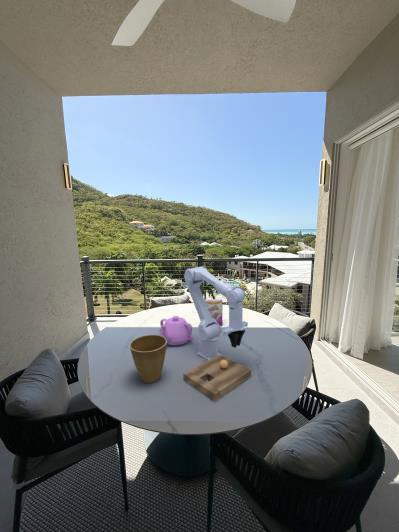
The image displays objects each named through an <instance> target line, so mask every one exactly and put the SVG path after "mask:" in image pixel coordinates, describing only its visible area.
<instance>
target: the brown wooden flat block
mask: <svg viewBox="0 0 399 532" xmlns="http://www.w3.org/2000/svg"><path fill="white" fill-rule="evenodd" d="M220 354H221V353H220ZM220 354H219V355H217V356H215V357H214V358H212V359H210V360H206V361H205V362H202V363H201V364H199V365H197V366H195V367H193V368H191V369H188V370H187V371H185V372H184V373H183V374H182V375H183V376H182V378H183V379H182V380H183V381H184V382H185V383H187V384H189V385H190V386H191V387H193V388H194V389H196V390H197V391H199V392H200V393H202V394H203V395H205V396H206V397H207V398H209V399H210V400H212V401H213V402H217V401H218V400H219V399H221V398H222V397H224V396H226V395H227V394H228V393H230V392H232V390H234V389H236V388H237V387H239V386H240V385H241V384H243V383H244V382H246V381H247V380H249V379H250V378H251V377H252V369H250V368H248V367H246V366H244V365H242V364H240V363H238V362H235V361H234V360H232V359H229V358H228V357H226V356H223V355H220ZM222 360H226V361H227V362H228V367H227V368H225V369H223V368H221V366H220V362H221V361H222Z"/></svg>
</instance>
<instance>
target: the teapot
mask: <svg viewBox="0 0 399 532" xmlns="http://www.w3.org/2000/svg"><path fill="white" fill-rule="evenodd" d="M159 323H160V329H159V333H160V336H163V337H165V338H166V340H167V345H169V346H183V345H184V344H187V343H188V342H189V341H194V335H193V326H192V325H191V323H188V322H187V320H186V319H185V318H183V317H179V316H178V315H173V316H172V317H169V318H162V319H161V320H160V322H159Z"/></svg>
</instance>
